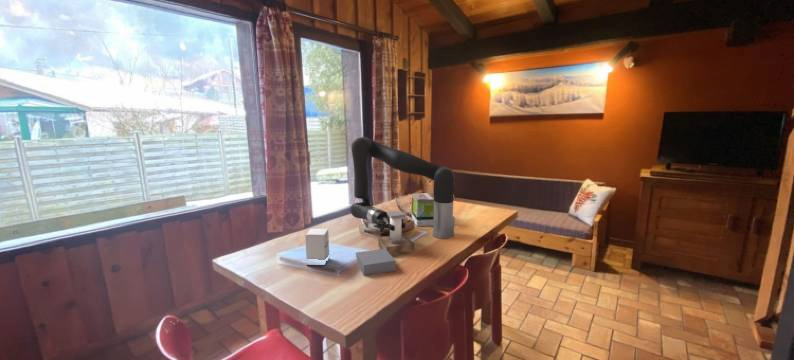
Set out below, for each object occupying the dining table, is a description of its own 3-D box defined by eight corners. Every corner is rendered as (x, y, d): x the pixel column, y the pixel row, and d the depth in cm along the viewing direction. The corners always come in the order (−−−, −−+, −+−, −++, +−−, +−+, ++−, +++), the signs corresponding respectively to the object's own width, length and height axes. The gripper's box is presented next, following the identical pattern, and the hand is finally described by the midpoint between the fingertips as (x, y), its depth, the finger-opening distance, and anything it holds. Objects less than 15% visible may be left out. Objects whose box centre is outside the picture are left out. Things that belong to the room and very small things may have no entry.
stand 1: (385, 257, 131) (385, 248, 130) (395, 270, 120) (395, 260, 119) (356, 262, 127) (356, 252, 126) (363, 275, 116) (363, 265, 115)
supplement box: (325, 266, 123) (324, 234, 121) (306, 266, 123) (304, 234, 121) (329, 258, 130) (328, 228, 128) (311, 258, 131) (310, 228, 128)
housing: (399, 237, 143) (400, 210, 141) (404, 241, 137) (405, 214, 135) (386, 238, 141) (386, 212, 139) (391, 243, 135) (391, 216, 133)
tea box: (435, 225, 171) (435, 198, 168) (416, 226, 170) (416, 199, 167) (428, 217, 186) (429, 192, 183) (411, 218, 184) (411, 192, 182)
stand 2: (403, 242, 147) (403, 234, 147) (413, 252, 136) (413, 243, 136) (378, 245, 143) (378, 237, 143) (386, 256, 132) (386, 247, 132)
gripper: (364, 211, 145) (385, 221, 131) (391, 207, 153) (413, 215, 139) (364, 227, 146) (385, 239, 132) (390, 222, 154) (412, 232, 141)
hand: (399, 227), depth 136 cm, fingers closed on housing, 5 cm apart
